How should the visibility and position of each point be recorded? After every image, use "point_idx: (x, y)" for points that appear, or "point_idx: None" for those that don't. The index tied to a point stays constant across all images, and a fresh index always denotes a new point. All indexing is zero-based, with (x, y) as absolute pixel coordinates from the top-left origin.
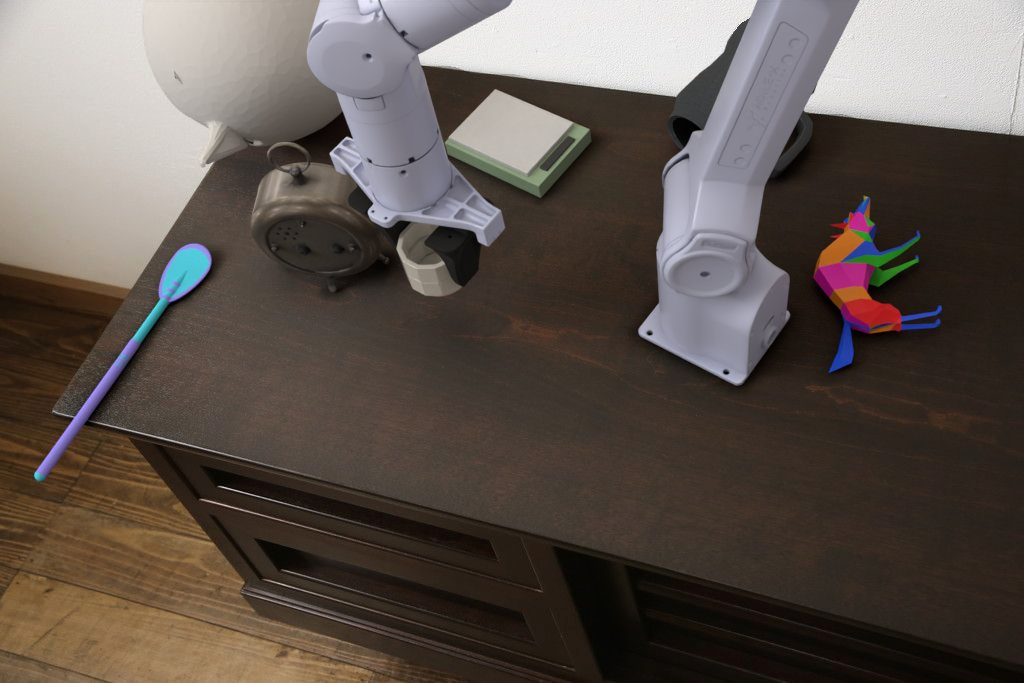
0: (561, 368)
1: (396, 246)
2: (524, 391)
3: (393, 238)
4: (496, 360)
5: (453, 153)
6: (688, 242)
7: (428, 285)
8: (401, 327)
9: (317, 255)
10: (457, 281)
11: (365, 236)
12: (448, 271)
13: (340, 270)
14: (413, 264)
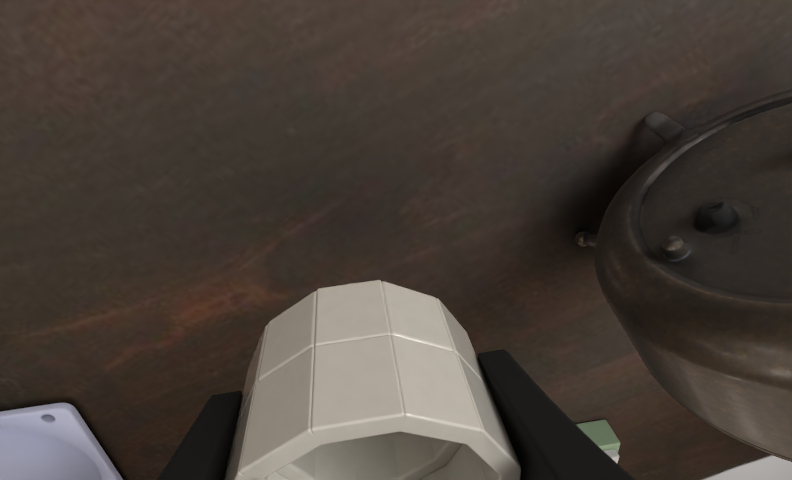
0: (99, 282)
1: (510, 401)
2: (97, 200)
3: (532, 446)
4: (214, 216)
5: (596, 429)
6: None
7: (294, 345)
8: (449, 146)
9: (761, 163)
10: (198, 426)
11: (657, 306)
12: (205, 473)
13: (665, 167)
14: (341, 434)
